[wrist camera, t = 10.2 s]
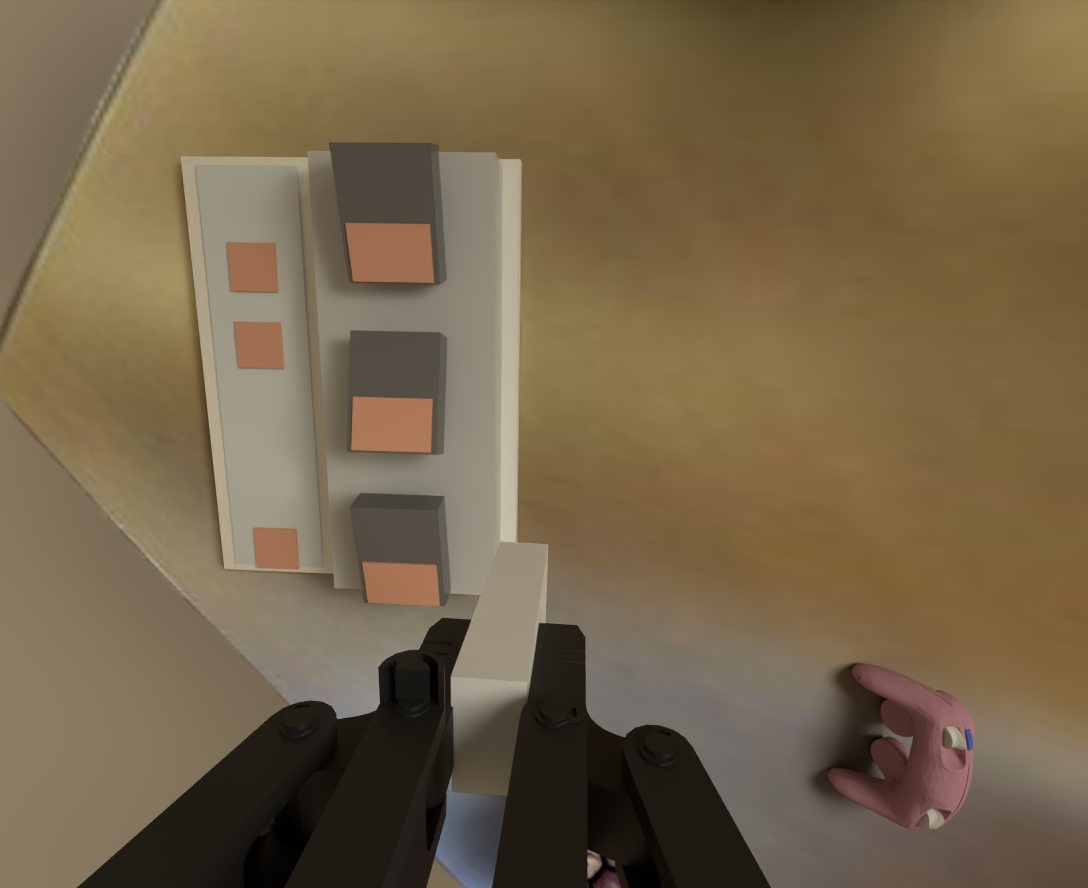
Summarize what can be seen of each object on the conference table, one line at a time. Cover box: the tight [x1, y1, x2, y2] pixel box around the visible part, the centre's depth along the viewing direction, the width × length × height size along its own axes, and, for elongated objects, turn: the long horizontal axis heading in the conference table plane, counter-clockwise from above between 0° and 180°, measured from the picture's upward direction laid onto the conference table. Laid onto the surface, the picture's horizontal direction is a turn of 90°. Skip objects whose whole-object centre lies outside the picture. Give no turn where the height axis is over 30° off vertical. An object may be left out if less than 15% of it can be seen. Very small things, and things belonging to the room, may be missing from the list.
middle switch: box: [346, 330, 447, 455], centre depth 30 cm, size 6×5×2 cm
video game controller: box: [828, 664, 975, 831], centre depth 36 cm, size 10×5×7 cm, turn 175°
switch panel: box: [181, 151, 522, 595], centre depth 34 cm, size 26×20×4 cm
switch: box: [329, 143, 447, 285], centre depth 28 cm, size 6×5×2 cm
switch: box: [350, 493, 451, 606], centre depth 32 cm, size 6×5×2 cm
